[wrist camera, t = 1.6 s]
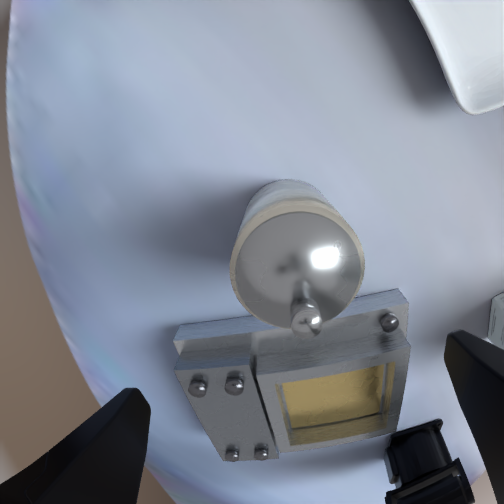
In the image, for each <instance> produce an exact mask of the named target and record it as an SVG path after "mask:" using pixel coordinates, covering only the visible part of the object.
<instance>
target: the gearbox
mask: <svg viewBox="0 0 504 504" xmlns="http://www.w3.org/2000/svg"><path fill="white" fill-rule="evenodd" d="M408 306H409V302H408V301H407V300H406V298H405V297H404V296H403V294H402V293H401V291H400V290H399V289H395V290H390V291H385V292H381V293H376V294H371V295H367V296H362V297H357V298H354V299H353V301H352V302H351V303H350V304H349V306H348V307H347V308H346V309H345V310H344V311H342V312H341V313H340V314H339V315H337V316H336V317H334V318H333V319H331V320H329V321H327V322H325V323H323V328H322V330H321V332H320V333H319V334H318V335H317V336H316V337H314V338H311V339H301V338H298V337H297V336H295V335H294V333H293V332H292V329H285V328H280V327H275V326H272V325H269V324H267V323H265V322H263V321H261V320H259V319H257V318H256V317H254V316H246V317H239V318H232V319H225V320H217V321H209V322H201V323H192V324H184V325H180V326H179V329H178V331H177V333H176V335H175V338H174V340H173V342H174V345H175V347H176V349H177V351H178V354H179V358H178V361H177V363H176V366H175V369H174V372H175V374H176V376H177V378H178V380H179V382H180V384H181V386H182V388H183V390H184V392H185V394H186V396H187V398H188V400H189V402H190V404H191V406H192V407H193V409H194V411H195V413H196V415H197V417H198V419H199V420H200V422H201V424H202V426H203V428H204V429H205V431H206V433H207V435H208V436H209V438H210V440H211V442H212V443H213V445H214V447H215V448H216V450H217V452H218V453H219V455H220V457H221V458H222V460H223V461H232V462H235V461H246V460H266V459H277V458H279V451H280V453H284V452H293V451H302V450H309V449H316V448H323V447H329V446H335V445H340V444H345V443H350V442H355V441H360V440H364V439H369V438H373V437H377V436H381V435H385V434H389V433H392V432H396V429H397V425H398V420H399V415H400V410H401V405H402V400H403V395H404V389H405V383H406V377H407V370H408V363H409V356H410V347H411V346H410V344H409V342H408V341H407V339H406V335H407V322H408Z"/></svg>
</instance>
